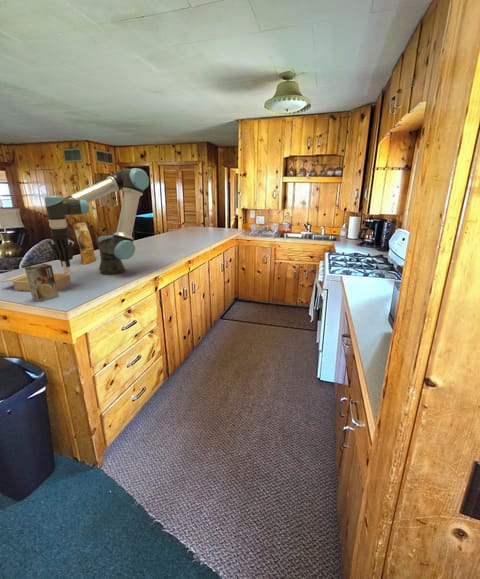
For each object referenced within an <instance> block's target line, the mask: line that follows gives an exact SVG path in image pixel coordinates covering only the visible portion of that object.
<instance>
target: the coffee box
mask: <svg viewBox="0 0 480 579" xmlns="http://www.w3.org/2000/svg"><path fill="white" fill-rule="evenodd" d="M24 269H25V274H27V278H28V282H29V286H30V290H31V291H30V294H31V298H32V300H33V301H36V302H43V301H46V300H51V299H53V298H57V297H59V293H58V290H57V288H56V284H55V279H54V275H53V273H54V271H53V267H52V264H47V263H43V264H38V265H37V264H36V265H31V266H26V267H24Z"/></svg>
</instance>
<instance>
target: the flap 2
mask: <svg viewBox="0 0 480 579" xmlns="http://www.w3.org/2000/svg"><path fill="white" fill-rule="evenodd" d="M79 271H80V269H77V270H75V271H72V272H69V273H67V275H65V276H68V275H70V276H71V275H72V274H74V273H77V272H79ZM65 276H63V277H65ZM63 277H61V278H63ZM61 278H58V279H61ZM58 279H56V280H58ZM56 280H55V281H56Z"/></svg>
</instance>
